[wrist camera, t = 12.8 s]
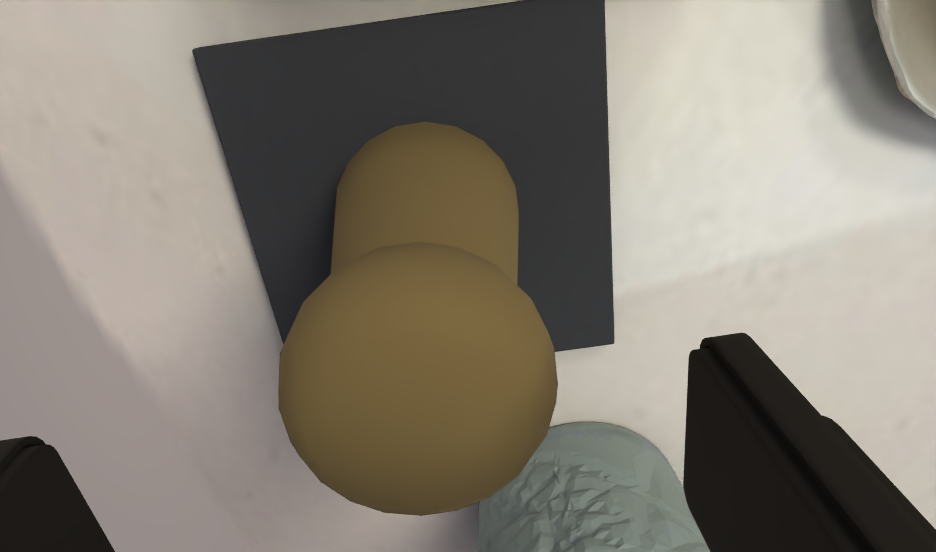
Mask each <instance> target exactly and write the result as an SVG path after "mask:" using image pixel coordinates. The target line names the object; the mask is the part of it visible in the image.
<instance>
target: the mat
mask: <svg viewBox="0 0 936 552" xmlns="http://www.w3.org/2000/svg"><path fill="white" fill-rule="evenodd" d="M192 52H193V55H194V58H195V62H196V65H197V68H198V71H199V74H200V78H201V81H202V84H203V87H204V90H205V94H206V97H207V100H208V103H209V107H210V110H211V113H212V116H213V119H214V123H215V126H216V129H217V132H218V136H219V139H220V142H221V145H222V148H223V152H224V155H225V158H226V161H227V164H228V168H229V171H230V174H231V177H232V181H233V184H234V187H235V190H236V193H237V197H238V200H239V203H240V206H241V210H242V213H243V216H244V219H245V222H246V226H247V229H248V232H249V235H250V238H251V242H252V245H253V248H254V251H255V255H256V258H257V261H258V264H259V267H260V271H261V274H262V277H263V280H264V284H265V287H266V290H267V293H268V296H269V300H270V303H271V306H272V309H273V312H274V316H275V319H276V322H277V325H278V329H279V332H280V335H281V338H282V341H283V345H284V343H285V341H286V338H287V336H288V334H289V332H290V330H291V327H292V325H293V323H294V321H295V319H296V316H297V314H298V312H299V310H300V308H301V306H302V304H303V302H304V301H305V300H306V299H307V298H308V297H309V296H310V295H311V294H312V293H313V292H314V291H315V290H316V289H317V288H318V287H319V286H320V285H321V284H322V283H323V282H324V281H325V280H326V279H327V278H328V277H329V276H330V275H331V263H332V249H333V235H334V221H335V207H336V194H337V187H338V184H339V182H340V180H341V178H342V175H343V173H344V171H345V168H346V166H347V164H348V162H349V161H350V160H351V159H352V157H353V156H354V155H355V154H356V153H357V152H358V151H359V150H360V149H361V148H362V147H363V146H364V145H365V144H366V143H367V142H368V141H369V140H370V139H372V138H374V137H376V136H378V135H380V134H382V133H384V132H386V131H388V130H389V129H391V128H393V127H395V126H401V125H408V124H414V123H420V122H431V123H437V124H444V125H450V126H456V127H458V128H460V129H462V130H464V131H466V132H468V133H470V134H472V135H474V136H475V137H477V138H479V139H481V140H483V141H484V142H485V143H486V144H487V145H488V146H489V147H490V148H491V149H492V150H493V151H494V152H495V153H496V154H497V155H498V156H499V157H500V158H501V159H502V160H503V162H504V164H505V166H506V168H507V170H508V172H509V174H510V176H511V178H512V180H513V182H514V184H515V186H516V194H517V202H518V210H519V232H518V278H517V286H518V287H519V288H521V289H522V290H523V291H524V292H525V293H526V294H527V295H528V296H529V297H530V298H531V299H532V301H533V303H534V305H535V307H536V309H537V311H538V313H539V315H540V317H541V319H542V321H543V323H544V325H545V326H546V328H547V330H548V333H549V335H550V338H551V341H552V344H553V347H554V352H557V351H564V350H572V349H579V348H587V347H594V346H601V345H609V344H614V311H613V277H612V242H611V208H610V174H609V140H608V105H607V71H606V37H605V3H604V0H523V1H516V2H509V3H502V4H496V5H489V6H482V7H475V8H468V9H461V10H454V11H447V12H440V13H433V14H426V15H419V16H413V17H406V18H399V19H392V20H385V21H378V22H371V23H364V24H357V25H350V26H343V27H337V28H330V29H323V30H316V31H309V32H302V33H295V34H288V35H281V36H274V37H267V38H261V39H254V40H247V41H240V42H233V43H226V44H219V45H212V46H205V47H199V48H195V49H193V50H192Z"/></svg>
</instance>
